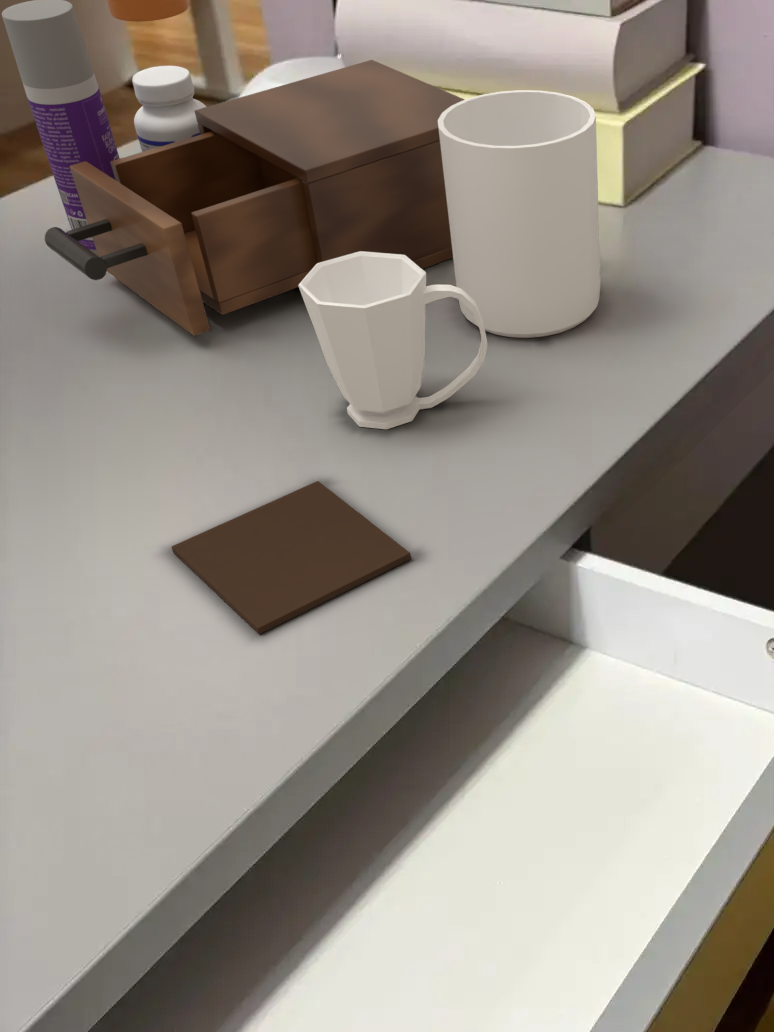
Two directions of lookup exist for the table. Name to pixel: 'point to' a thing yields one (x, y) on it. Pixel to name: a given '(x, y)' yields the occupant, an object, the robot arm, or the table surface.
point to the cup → (379, 333)
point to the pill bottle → (165, 106)
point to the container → (61, 95)
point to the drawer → (192, 228)
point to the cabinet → (354, 156)
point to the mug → (523, 209)
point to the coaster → (290, 555)
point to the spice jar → (146, 9)
